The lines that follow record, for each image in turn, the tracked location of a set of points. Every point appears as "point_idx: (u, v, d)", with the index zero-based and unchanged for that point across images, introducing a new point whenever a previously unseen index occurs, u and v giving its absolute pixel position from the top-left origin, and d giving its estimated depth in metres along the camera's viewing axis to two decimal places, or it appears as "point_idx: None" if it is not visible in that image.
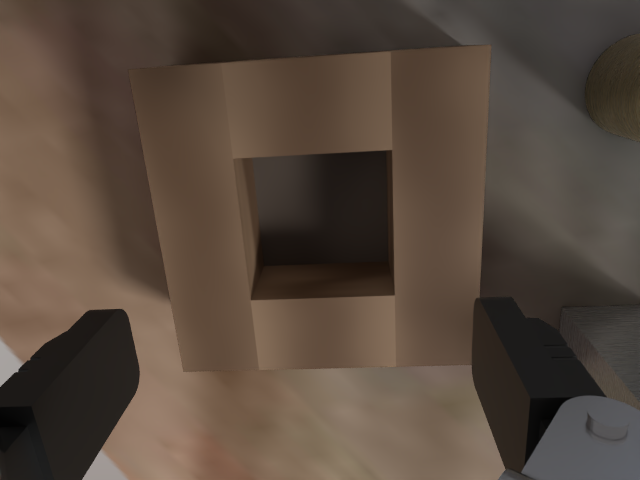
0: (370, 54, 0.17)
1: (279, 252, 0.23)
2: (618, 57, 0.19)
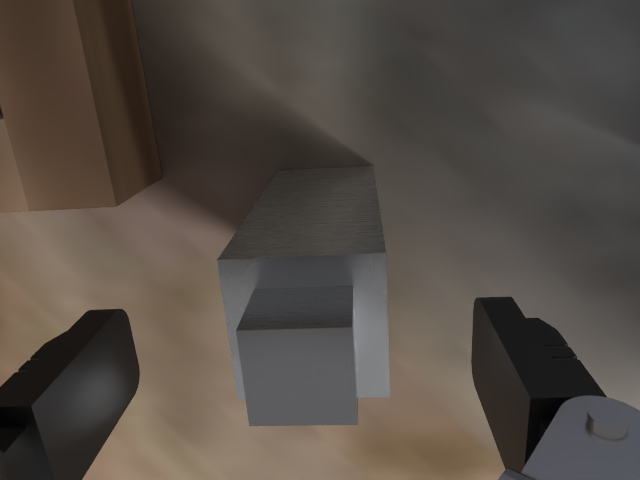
0: None
1: None
2: None
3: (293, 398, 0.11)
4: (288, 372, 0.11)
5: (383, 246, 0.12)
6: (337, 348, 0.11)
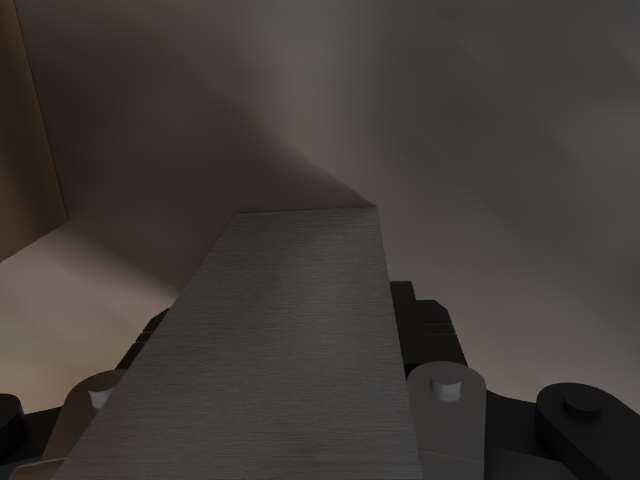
0: None
1: None
2: None
3: None
4: None
5: (417, 465, 0.05)
6: None
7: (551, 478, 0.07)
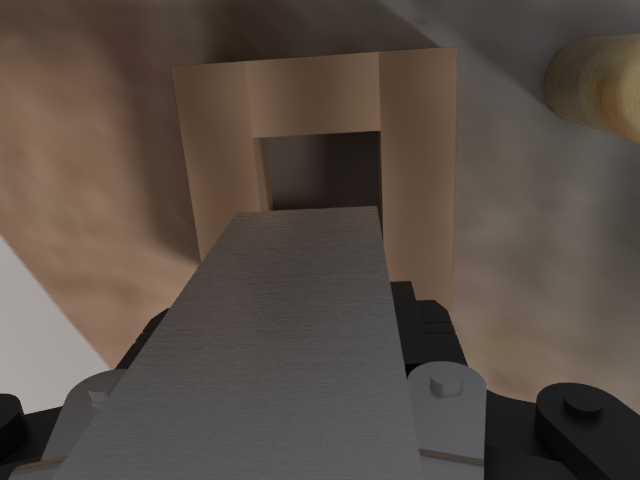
0: (362, 54, 0.21)
1: None
2: (566, 57, 0.23)
3: None
4: None
5: (418, 464, 0.05)
6: None
7: (551, 477, 0.07)
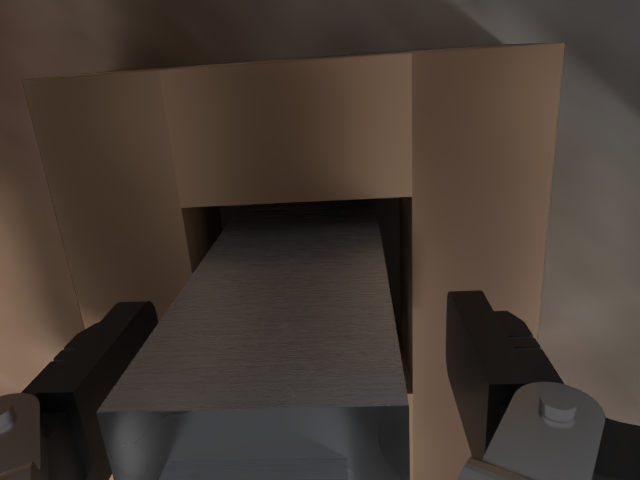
0: (381, 57, 0.11)
1: None
2: None
3: None
4: None
5: (402, 384, 0.07)
6: None
7: None
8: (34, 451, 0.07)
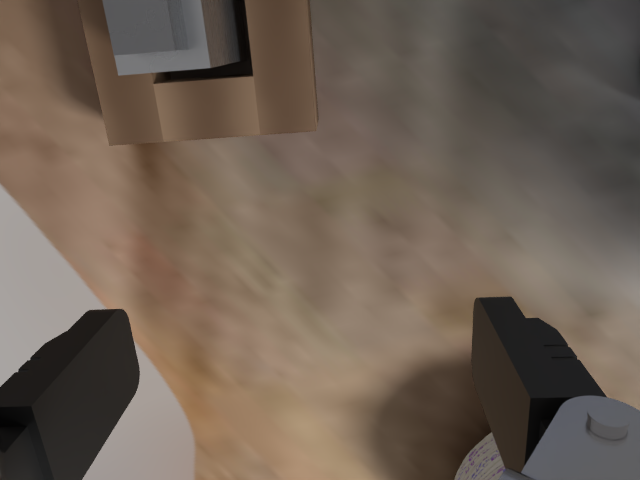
0: None
1: None
2: None
3: (137, 33, 0.20)
4: (131, 14, 0.19)
5: None
6: None
7: None
8: None
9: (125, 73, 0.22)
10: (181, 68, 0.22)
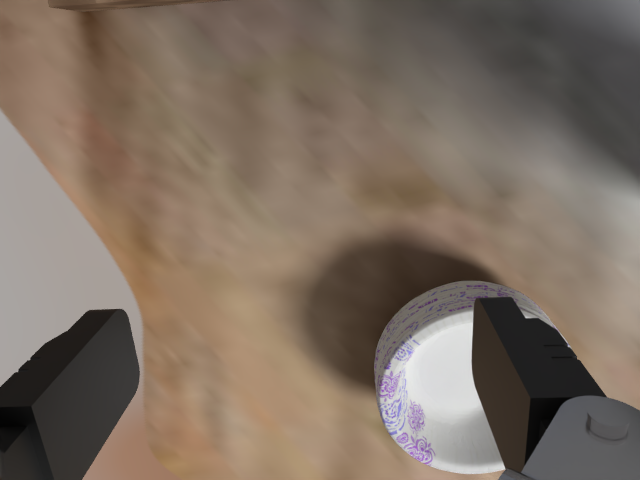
0: None
1: None
2: None
3: None
4: None
5: None
6: None
7: None
8: None
9: None
10: None
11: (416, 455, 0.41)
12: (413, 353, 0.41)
